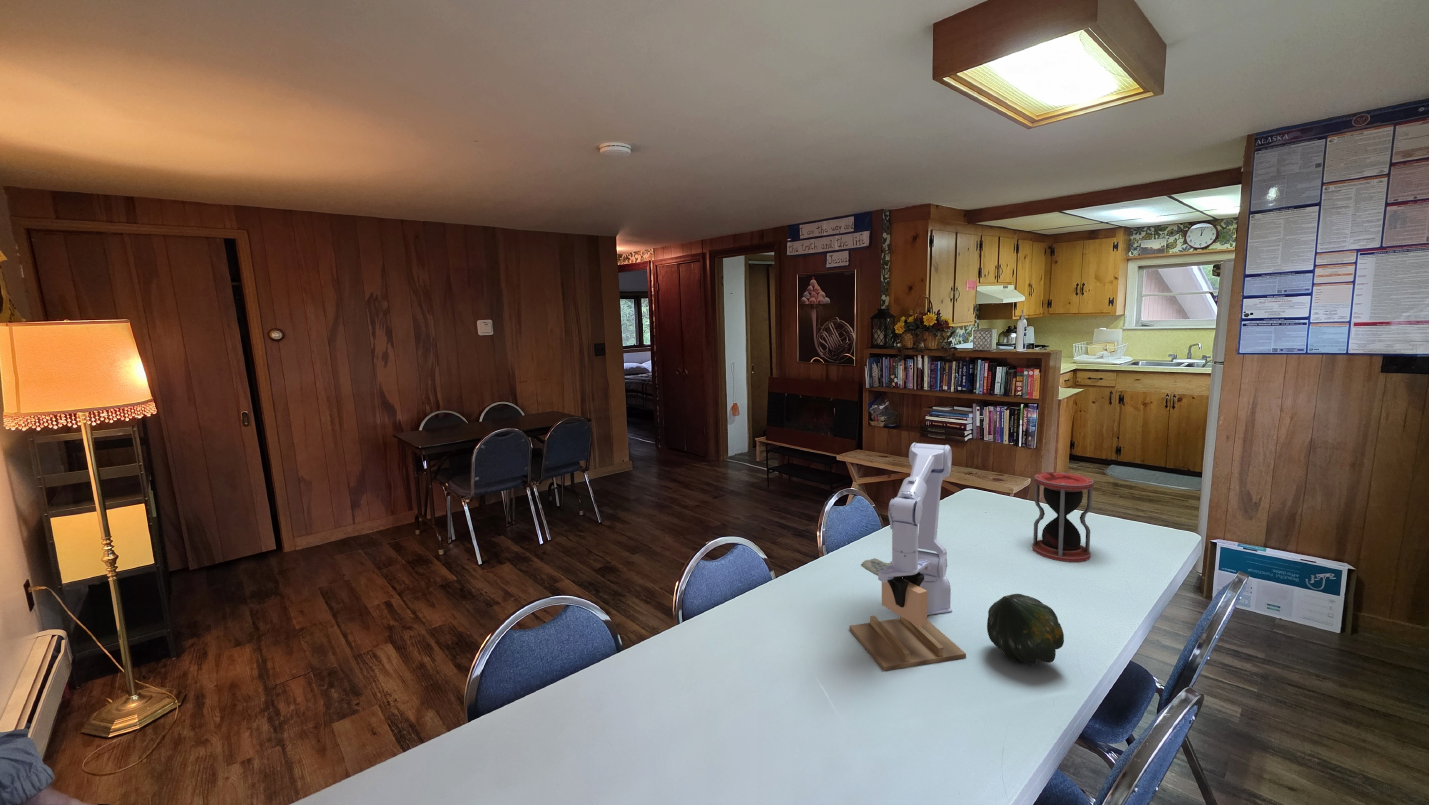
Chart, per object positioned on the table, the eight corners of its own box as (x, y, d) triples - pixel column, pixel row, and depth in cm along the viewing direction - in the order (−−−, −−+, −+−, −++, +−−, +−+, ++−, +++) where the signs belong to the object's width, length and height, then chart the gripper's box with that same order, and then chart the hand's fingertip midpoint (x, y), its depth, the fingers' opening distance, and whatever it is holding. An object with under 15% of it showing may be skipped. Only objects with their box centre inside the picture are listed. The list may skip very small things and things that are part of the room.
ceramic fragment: (908, 566, 171) (882, 569, 167) (907, 576, 171) (881, 579, 167) (884, 555, 181) (859, 557, 177) (883, 565, 181) (858, 567, 177)
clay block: (889, 602, 139) (889, 571, 138) (927, 624, 128) (927, 590, 127) (881, 605, 138) (881, 574, 137) (919, 626, 127) (919, 593, 126)
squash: (1034, 685, 116) (1036, 617, 114) (972, 650, 129) (973, 588, 127) (1075, 664, 123) (1078, 599, 121) (1011, 633, 136) (1013, 574, 134)
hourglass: (1089, 549, 184) (1093, 474, 181) (1091, 567, 170) (1094, 487, 167) (1033, 540, 193) (1035, 469, 190) (1030, 557, 179) (1032, 481, 176)
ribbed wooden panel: (922, 618, 144) (922, 607, 144) (966, 657, 127) (966, 645, 126) (849, 629, 140) (849, 618, 140) (884, 670, 123) (884, 658, 123)
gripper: (915, 537, 137) (914, 590, 139) (869, 549, 131) (869, 604, 133) (937, 546, 131) (937, 601, 133) (890, 559, 125) (890, 617, 126)
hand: (904, 603), depth 132 cm, fingers closed on clay block, 2 cm apart
